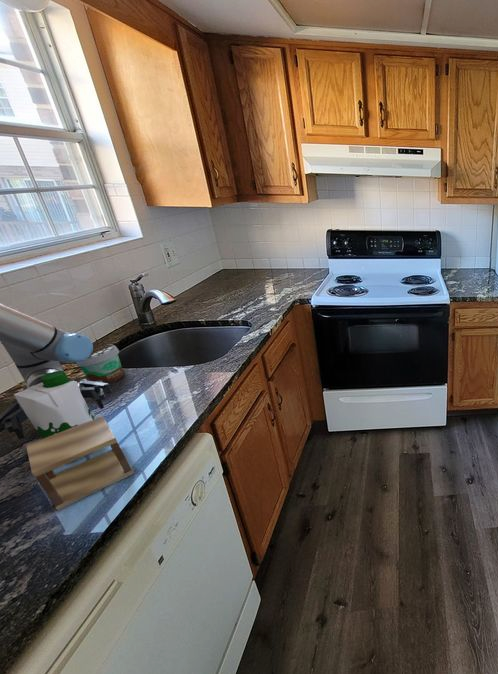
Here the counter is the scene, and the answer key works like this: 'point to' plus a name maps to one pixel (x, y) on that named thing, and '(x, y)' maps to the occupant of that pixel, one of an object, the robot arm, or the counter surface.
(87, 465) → the rack
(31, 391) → the soya milk
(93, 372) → the food container
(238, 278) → the counter surface
